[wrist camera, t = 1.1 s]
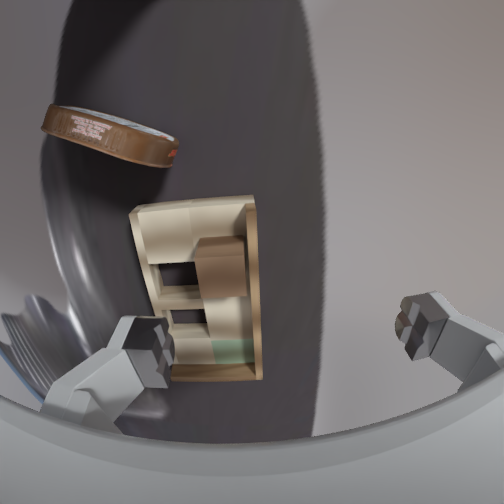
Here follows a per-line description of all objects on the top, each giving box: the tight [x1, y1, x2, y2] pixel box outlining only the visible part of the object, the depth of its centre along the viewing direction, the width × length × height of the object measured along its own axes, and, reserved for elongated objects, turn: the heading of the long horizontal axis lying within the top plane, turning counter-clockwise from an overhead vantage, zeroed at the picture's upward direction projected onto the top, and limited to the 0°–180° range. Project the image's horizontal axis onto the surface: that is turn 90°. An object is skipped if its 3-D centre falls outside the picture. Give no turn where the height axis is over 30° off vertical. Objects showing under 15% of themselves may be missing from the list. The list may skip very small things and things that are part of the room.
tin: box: [41, 104, 179, 168], centre depth 21 cm, size 15×3×8 cm, turn 65°
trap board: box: [129, 195, 263, 382], centre depth 32 cm, size 24×13×6 cm, turn 3°
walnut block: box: [194, 235, 247, 298], centre depth 27 cm, size 4×4×4 cm
